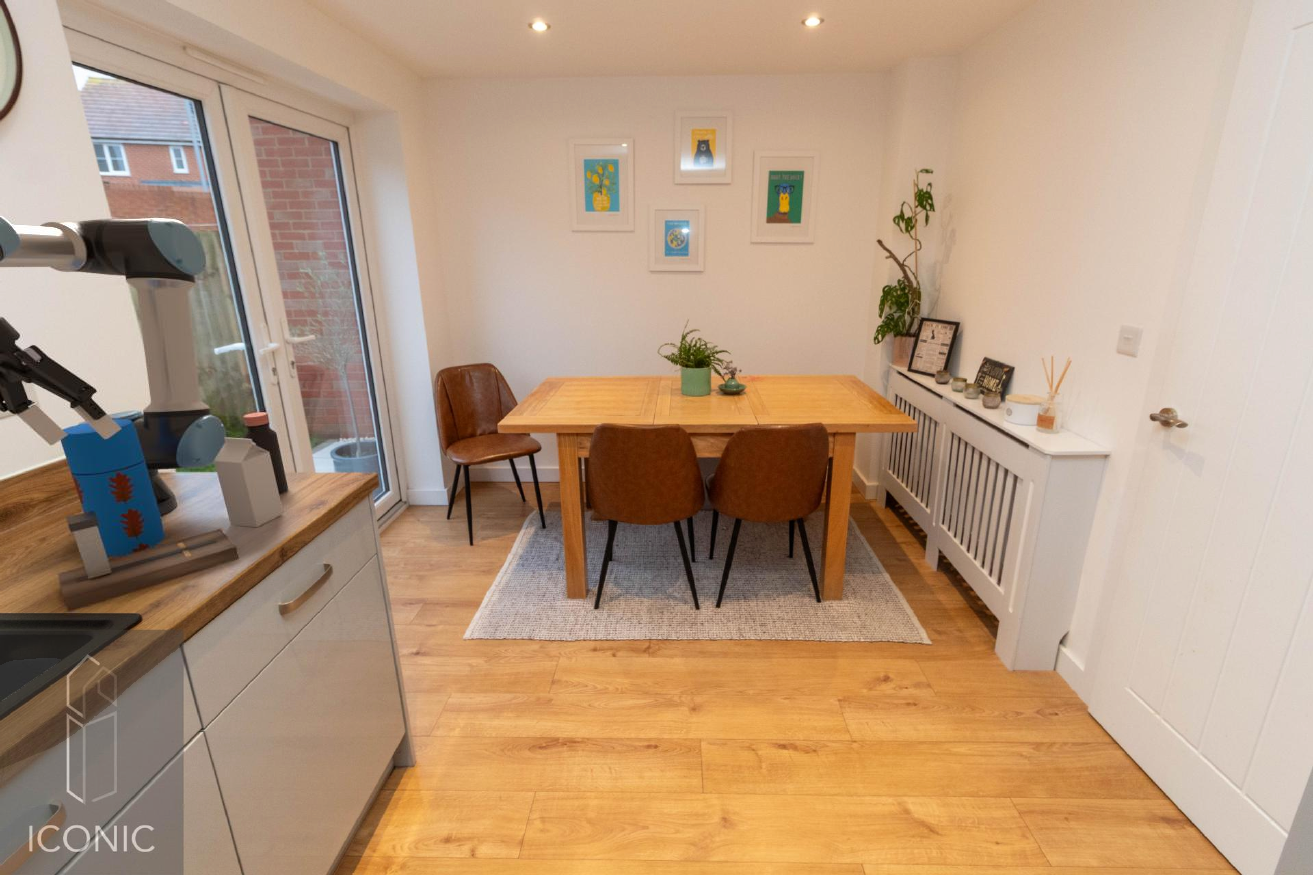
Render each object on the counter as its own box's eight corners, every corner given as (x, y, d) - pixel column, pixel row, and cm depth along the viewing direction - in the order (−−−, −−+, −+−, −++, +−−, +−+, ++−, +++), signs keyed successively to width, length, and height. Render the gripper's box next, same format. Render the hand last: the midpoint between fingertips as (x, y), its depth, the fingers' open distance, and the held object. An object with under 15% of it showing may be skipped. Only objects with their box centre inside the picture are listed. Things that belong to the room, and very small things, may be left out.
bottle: (277, 497, 143) (260, 418, 137) (249, 497, 143) (231, 418, 138) (294, 487, 150) (278, 411, 144) (267, 487, 150) (250, 411, 144)
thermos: (108, 561, 113) (68, 437, 106) (88, 548, 119) (49, 429, 112) (175, 539, 122) (142, 423, 115) (154, 528, 128) (121, 416, 120)
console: (62, 586, 105) (57, 573, 104) (223, 539, 122) (220, 528, 121) (67, 611, 97) (63, 597, 96) (238, 558, 114) (235, 546, 113)
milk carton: (257, 528, 127) (236, 444, 121) (230, 525, 129) (208, 442, 123) (284, 514, 134) (265, 434, 128) (258, 511, 135) (238, 432, 129)
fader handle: (83, 571, 104) (65, 517, 101) (110, 563, 106) (94, 510, 103) (86, 580, 101) (67, 524, 98) (114, 572, 103) (97, 517, 100)
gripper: (-109, 349, 88) (16, 456, 100) (-4, 327, 81) (116, 445, 93) (-54, 324, 94) (58, 429, 106) (48, 302, 86) (155, 417, 99)
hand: (85, 437), depth 100 cm, fingers open, 13 cm apart
